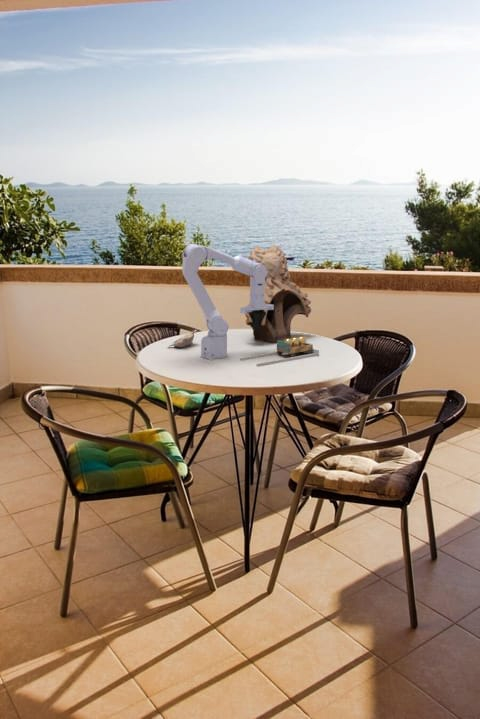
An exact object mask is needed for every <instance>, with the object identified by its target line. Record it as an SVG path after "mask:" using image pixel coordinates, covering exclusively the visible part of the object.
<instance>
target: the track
mask: <svg viewBox="0 0 480 719" xmlns="http://www.w3.org/2000/svg"><path fill="white" fill-rule="evenodd" d="M310 351H312V354H308V355H307V352H308V351H303V352H302V353H305V354H303V355H298V356H295V357H291V358H290V357H287V358H281V359H275V360H274V359H273V360H268V361H264V362H259V363H256V367H261V366H266V365H273V364H279V363H285V362H289V361H296V360H300V359H306V358H312V357H319V356H320V349H316V348H313V350H310ZM283 354H285V353H284V352H282V354H281V355H283ZM276 355H278V354H277V351H272V352H267V353H261V354H256V355H249V356H243V357H239V361H247V360H253V359H259V358H264V357H270V356H271V357H272V356H276Z"/></svg>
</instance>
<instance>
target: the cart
mask: <svg viewBox="0 0 480 719" xmlns="http://www.w3.org/2000/svg"><path fill="white" fill-rule="evenodd" d="M310 350H313V344H312V343H307V342H306V346H300V347H294V348H290V343H288V342H284V341H281V340H277V343H276V352H277V355H279V356H281V355H283V354H288V355H290V356H289V358H291V357H296V354H297V353H301V352H302V353H304V352H303V351H308V352H307V353H306V355H308V354H312V351H310ZM282 352H284V353H283V354H282Z"/></svg>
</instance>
